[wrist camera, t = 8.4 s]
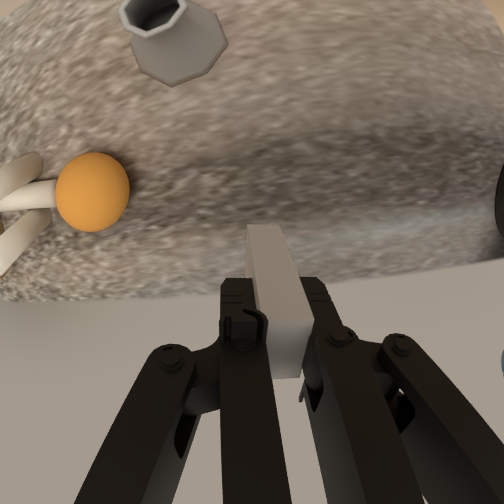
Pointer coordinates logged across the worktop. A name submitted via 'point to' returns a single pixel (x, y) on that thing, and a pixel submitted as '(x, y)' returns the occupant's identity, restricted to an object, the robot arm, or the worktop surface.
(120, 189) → the ball
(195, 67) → the flask
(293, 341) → the robot arm
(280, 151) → the worktop surface
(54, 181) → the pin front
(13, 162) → the pin
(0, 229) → the back wall
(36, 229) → the pin
